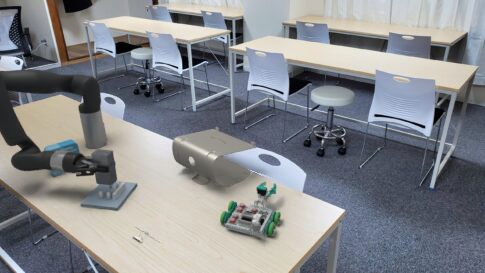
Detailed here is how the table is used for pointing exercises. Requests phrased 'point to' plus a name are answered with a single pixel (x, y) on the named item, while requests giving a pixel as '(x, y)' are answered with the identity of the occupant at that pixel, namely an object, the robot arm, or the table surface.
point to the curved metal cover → (211, 156)
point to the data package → (62, 146)
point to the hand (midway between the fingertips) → (111, 166)
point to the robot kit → (252, 215)
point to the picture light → (145, 233)
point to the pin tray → (109, 195)
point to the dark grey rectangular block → (107, 160)
